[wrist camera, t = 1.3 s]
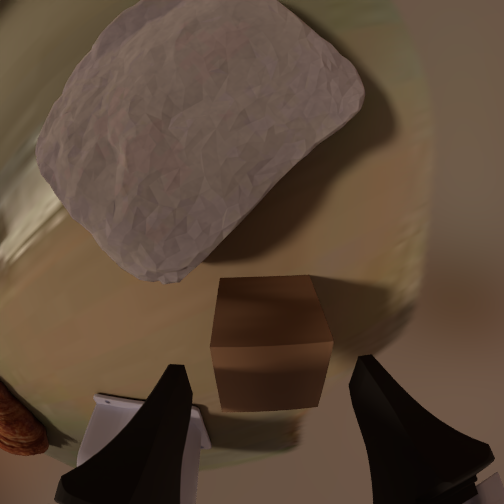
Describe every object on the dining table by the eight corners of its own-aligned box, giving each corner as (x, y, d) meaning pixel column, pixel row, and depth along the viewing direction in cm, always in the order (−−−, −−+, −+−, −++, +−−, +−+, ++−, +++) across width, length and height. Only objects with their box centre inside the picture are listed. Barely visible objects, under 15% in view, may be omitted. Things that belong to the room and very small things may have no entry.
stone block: (71, 154, 13) (188, 277, 14) (10, 155, 8) (148, 324, 9) (212, -5, 10) (361, 106, 11) (187, -58, 5) (402, 74, 6)
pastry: (-28, 378, 22) (-46, 409, 15) (-18, 356, 19) (-46, 398, 12) (44, 441, 29) (31, 474, 21) (76, 438, 25) (62, 483, 18)
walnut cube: (226, 342, 16) (222, 411, 11) (220, 277, 14) (209, 347, 10) (302, 338, 16) (317, 406, 11) (308, 274, 14) (334, 341, 10)
